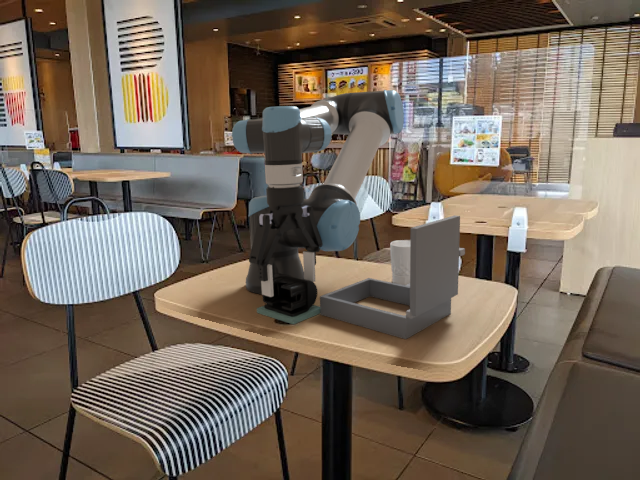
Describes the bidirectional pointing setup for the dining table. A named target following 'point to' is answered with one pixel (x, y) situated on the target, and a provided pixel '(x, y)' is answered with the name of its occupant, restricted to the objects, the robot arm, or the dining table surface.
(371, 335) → the dining table surface
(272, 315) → the rubber pad
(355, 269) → the dining table surface
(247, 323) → the dining table surface
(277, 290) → the end cap
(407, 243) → the white cup
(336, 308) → the case
